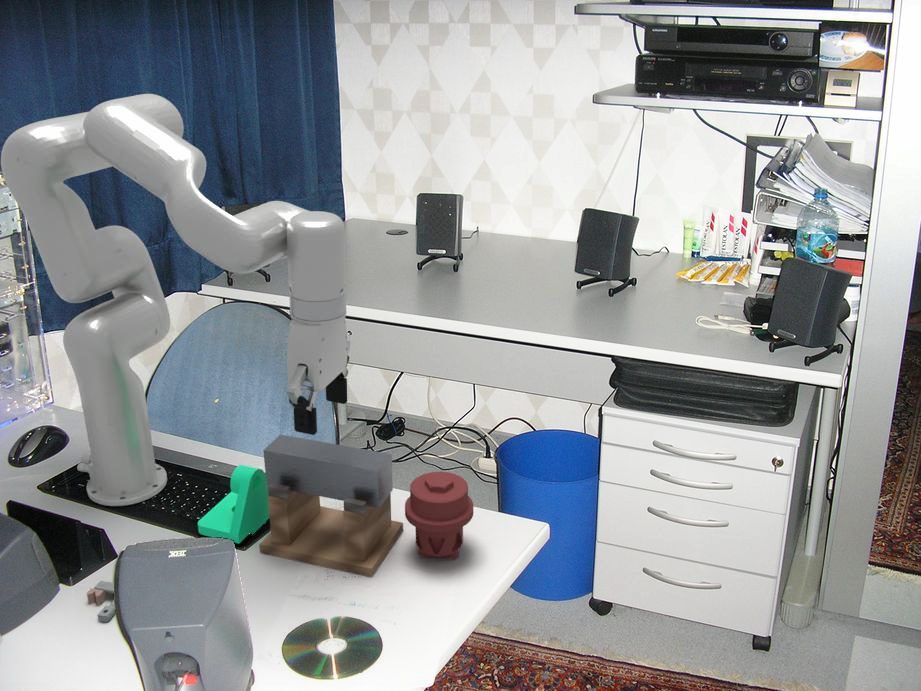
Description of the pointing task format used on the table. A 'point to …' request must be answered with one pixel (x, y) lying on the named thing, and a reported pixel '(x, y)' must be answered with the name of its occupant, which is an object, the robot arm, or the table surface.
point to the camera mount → (239, 507)
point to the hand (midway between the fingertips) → (321, 416)
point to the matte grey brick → (329, 470)
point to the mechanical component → (439, 513)
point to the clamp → (102, 599)
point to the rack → (329, 531)
